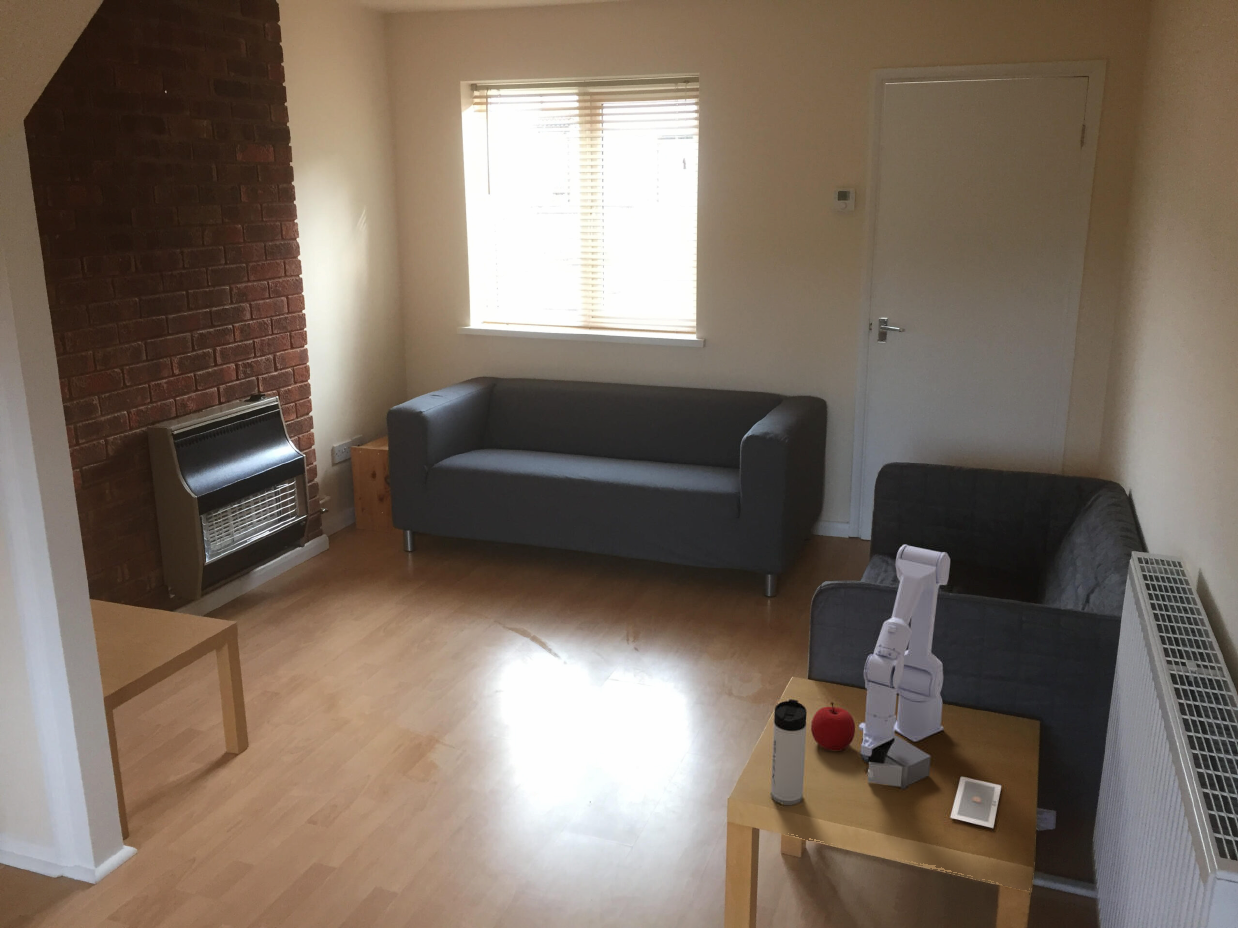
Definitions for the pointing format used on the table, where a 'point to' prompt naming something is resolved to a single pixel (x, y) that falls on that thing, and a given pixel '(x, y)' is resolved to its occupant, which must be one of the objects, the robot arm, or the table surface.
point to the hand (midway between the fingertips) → (876, 769)
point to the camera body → (907, 759)
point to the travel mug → (788, 752)
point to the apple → (833, 728)
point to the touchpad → (976, 802)
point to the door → (887, 774)
